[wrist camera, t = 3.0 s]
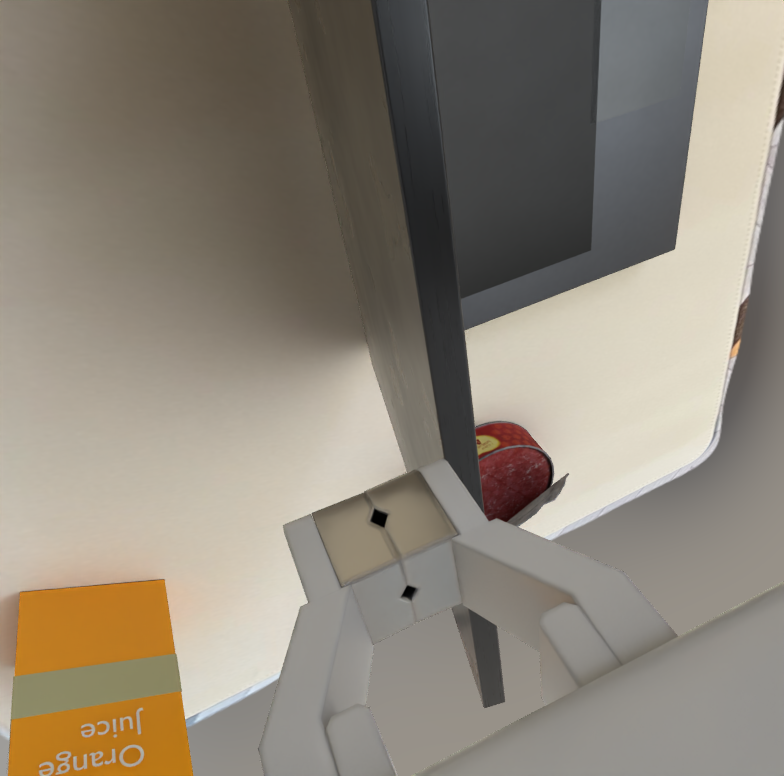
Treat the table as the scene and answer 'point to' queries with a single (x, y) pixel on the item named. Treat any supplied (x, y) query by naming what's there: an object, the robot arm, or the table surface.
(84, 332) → the table surface
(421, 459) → the laptop screen
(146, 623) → the orange juice
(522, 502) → the canned food
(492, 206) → the laptop
